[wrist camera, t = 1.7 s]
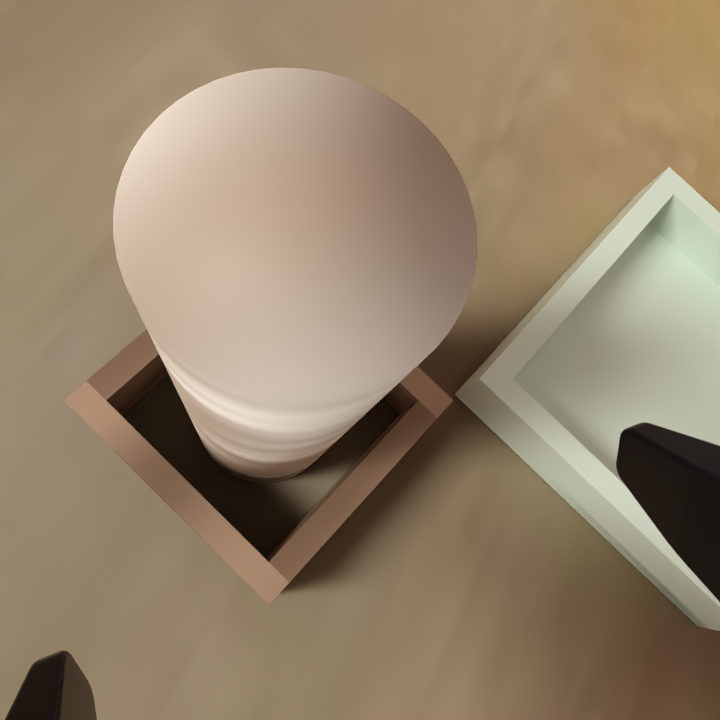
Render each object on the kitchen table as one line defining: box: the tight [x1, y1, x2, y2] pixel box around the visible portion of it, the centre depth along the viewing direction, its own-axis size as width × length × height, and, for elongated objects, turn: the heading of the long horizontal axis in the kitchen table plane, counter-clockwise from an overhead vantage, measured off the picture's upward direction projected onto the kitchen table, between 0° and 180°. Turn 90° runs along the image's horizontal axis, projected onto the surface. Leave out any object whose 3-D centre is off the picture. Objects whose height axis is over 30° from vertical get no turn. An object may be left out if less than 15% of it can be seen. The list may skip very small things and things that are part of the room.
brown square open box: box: [64, 330, 453, 605], centre depth 20 cm, size 8×8×2 cm
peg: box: [113, 68, 477, 483], centre depth 14 cm, size 4×4×14 cm
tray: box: [455, 167, 720, 631], centre depth 23 cm, size 12×12×2 cm
